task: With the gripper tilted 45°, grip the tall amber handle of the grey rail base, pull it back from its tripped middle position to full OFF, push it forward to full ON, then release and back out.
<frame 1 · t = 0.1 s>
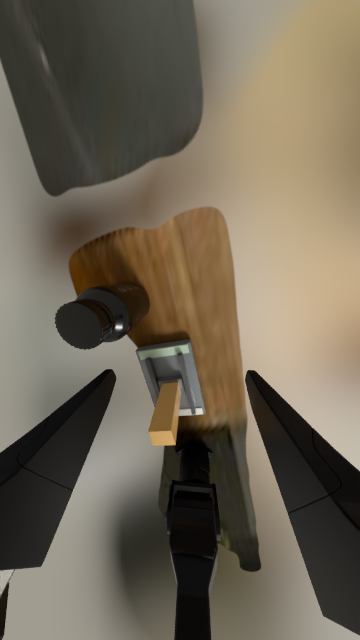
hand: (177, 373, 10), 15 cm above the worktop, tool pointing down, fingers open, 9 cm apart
grey rail base: (173, 378, 29), on the worktop
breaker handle: (168, 406, 23), point 6 cm above the worktop, slide at 0.0 cm
supplement bottle: (132, 302, 25), on the worktop
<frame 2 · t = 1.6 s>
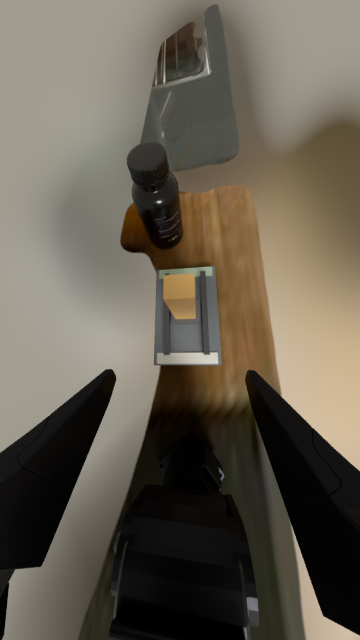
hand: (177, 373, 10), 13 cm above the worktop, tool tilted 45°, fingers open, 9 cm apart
grey rail base: (186, 315, 24), on the worktop
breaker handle: (183, 302, 18), point 6 cm above the worktop, slide at 0.0 cm
supplement bottle: (166, 236, 28), on the worktop
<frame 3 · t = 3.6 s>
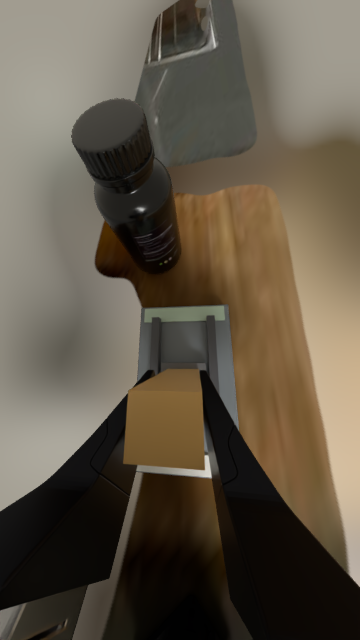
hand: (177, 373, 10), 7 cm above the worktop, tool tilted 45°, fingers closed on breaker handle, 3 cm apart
grey rail base: (185, 378, 16), on the worktop
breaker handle: (178, 393, 10), point 6 cm above the worktop, slide at 0.0 cm, touching gripper
supplement bottle: (158, 255, 20), on the worktop
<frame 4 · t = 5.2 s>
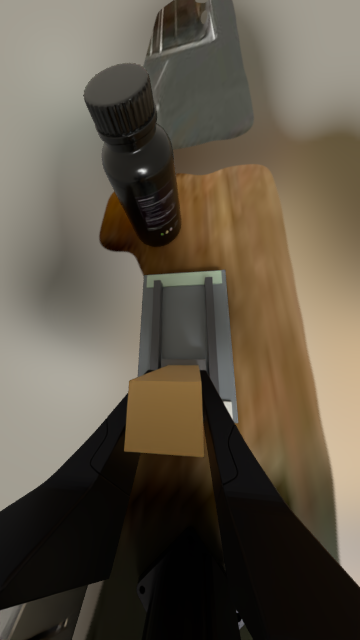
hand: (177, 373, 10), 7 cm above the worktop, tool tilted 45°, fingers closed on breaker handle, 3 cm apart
grey rail base: (184, 339, 17), on the worktop
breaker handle: (178, 387, 10), point 6 cm above the worktop, slide at -4.1 cm, touching gripper
supplement bottle: (159, 230, 22), on the worktop
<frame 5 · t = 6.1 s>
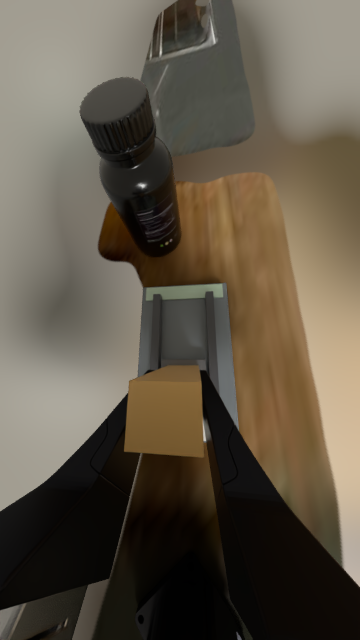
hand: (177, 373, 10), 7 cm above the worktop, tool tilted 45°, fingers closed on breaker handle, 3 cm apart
grey rail base: (185, 353, 17), on the worktop
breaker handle: (178, 387, 10), point 6 cm above the worktop, slide at -2.4 cm, touching gripper
supplement bottle: (159, 240, 21), on the worktop
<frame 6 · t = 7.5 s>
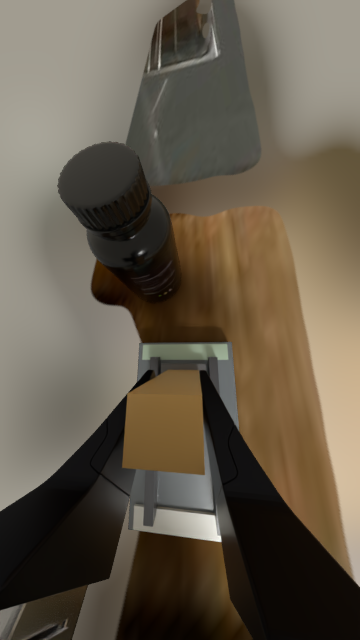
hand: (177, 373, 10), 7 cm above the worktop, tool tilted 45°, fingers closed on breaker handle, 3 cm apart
grey rail base: (185, 419, 15), on the worktop
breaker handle: (178, 395, 10), point 6 cm above the worktop, slide at 4.1 cm, touching gripper
supplement bottle: (157, 281, 19), on the worktop
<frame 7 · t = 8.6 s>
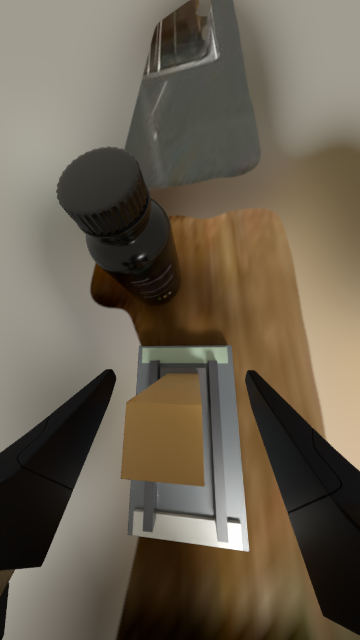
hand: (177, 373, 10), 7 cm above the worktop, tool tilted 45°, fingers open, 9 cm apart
grey rail base: (185, 423, 15), on the worktop
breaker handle: (178, 400, 10), point 6 cm above the worktop, slide at 4.0 cm
supplement bottle: (157, 283, 19), on the worktop
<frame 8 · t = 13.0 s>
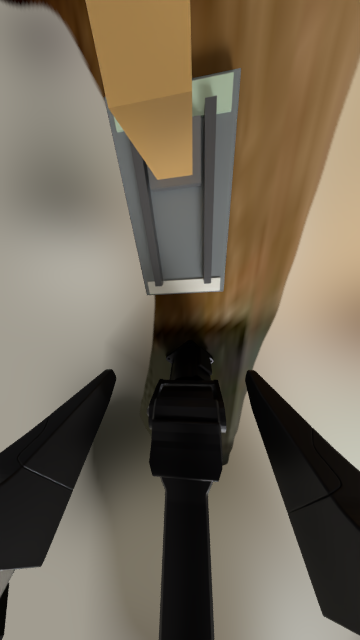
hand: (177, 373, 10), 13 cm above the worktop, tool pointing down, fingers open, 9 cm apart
grey rail base: (179, 219, 16), on the worktop
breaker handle: (165, 127, 8), point 6 cm above the worktop, slide at 4.0 cm
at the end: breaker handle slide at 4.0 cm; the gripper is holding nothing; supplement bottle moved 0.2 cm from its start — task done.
